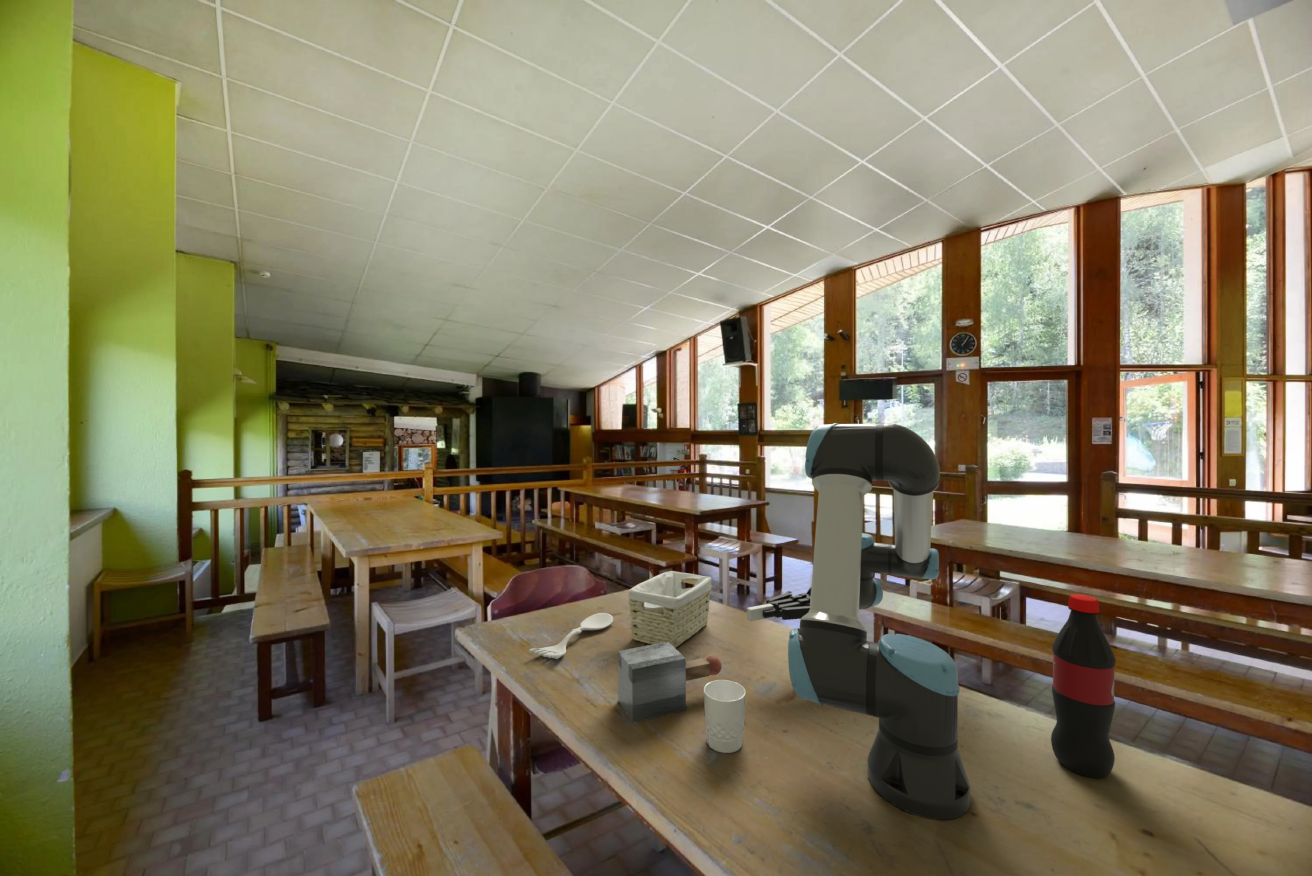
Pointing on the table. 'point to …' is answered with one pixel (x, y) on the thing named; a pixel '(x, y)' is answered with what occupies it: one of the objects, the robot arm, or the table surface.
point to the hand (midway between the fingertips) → (748, 614)
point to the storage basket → (669, 608)
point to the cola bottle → (1083, 691)
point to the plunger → (702, 668)
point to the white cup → (724, 715)
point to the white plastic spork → (589, 623)
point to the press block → (651, 681)
